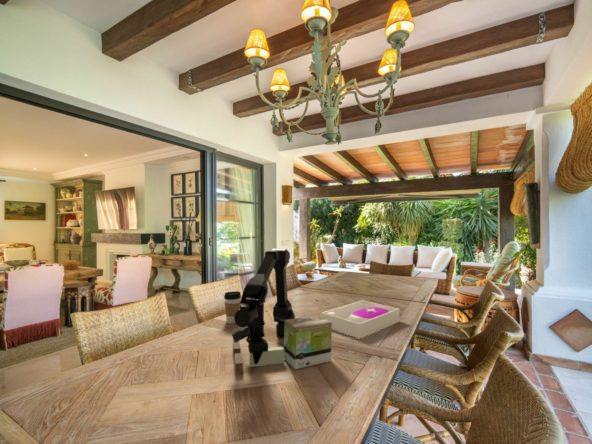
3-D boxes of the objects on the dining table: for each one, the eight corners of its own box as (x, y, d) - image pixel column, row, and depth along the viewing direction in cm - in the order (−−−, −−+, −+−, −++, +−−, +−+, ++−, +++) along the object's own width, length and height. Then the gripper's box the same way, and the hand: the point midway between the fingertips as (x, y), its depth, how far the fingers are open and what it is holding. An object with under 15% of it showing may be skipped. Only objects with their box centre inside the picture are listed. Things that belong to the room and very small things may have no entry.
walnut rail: (239, 348, 119) (239, 340, 119) (243, 373, 100) (243, 363, 100) (232, 349, 118) (232, 340, 118) (235, 374, 99) (235, 363, 99)
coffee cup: (236, 325, 147) (237, 294, 147) (221, 323, 148) (221, 293, 148) (243, 319, 155) (243, 290, 155) (228, 318, 156) (228, 290, 157)
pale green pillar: (282, 360, 109) (282, 346, 109) (283, 363, 107) (283, 349, 107) (249, 363, 106) (249, 349, 106) (250, 367, 104) (250, 352, 104)
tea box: (295, 371, 101) (295, 327, 101) (283, 359, 110) (283, 319, 110) (332, 361, 108) (332, 321, 108) (317, 351, 117) (317, 313, 117)
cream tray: (321, 327, 146) (321, 312, 146) (362, 312, 170) (362, 299, 170) (359, 340, 129) (359, 323, 129) (399, 322, 153) (399, 308, 153)
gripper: (231, 311, 113) (231, 353, 113) (233, 328, 95) (233, 377, 95) (260, 309, 115) (260, 350, 115) (268, 326, 97) (268, 373, 97)
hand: (255, 361), depth 106 cm, fingers closed on pale green pillar, 2 cm apart
